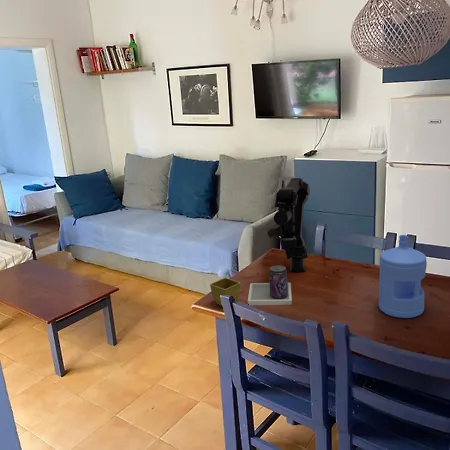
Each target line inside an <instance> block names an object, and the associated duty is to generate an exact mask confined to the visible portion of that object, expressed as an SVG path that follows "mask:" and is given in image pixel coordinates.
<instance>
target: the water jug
mask: <svg viewBox="0 0 450 450" xmlns="http://www.w3.org/2000/svg"><path fill="white" fill-rule="evenodd" d="M398 238H399V239H398V246H397V247H396V246H395V247H393V248H388V249H386V250H384V251H382V252H381V253H380V255H379V279H378V280H379V282H378V286H379V287H378V288H379V289H378V291H379V294H378V297H379V298H378V307H379V309H380V311H381V312H383V313H384V314H385V315H388V316H390V317H394V318H399V319H411V318H416V317H418V316H421V315H422V314H423V312H425V311H424V310H425V291H424V290H423V288H422V286H421V285H422V280H423V279H424V278H425V277H426V275H427V274H426V273H427V266H428V265H427V263H428V262H427V256H426V254H424V253H423V252H421V251H419V250H417V249H414V248H412V247H409V238H410V237H409V235H406V234H401V235H399V236H398Z"/></svg>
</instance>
